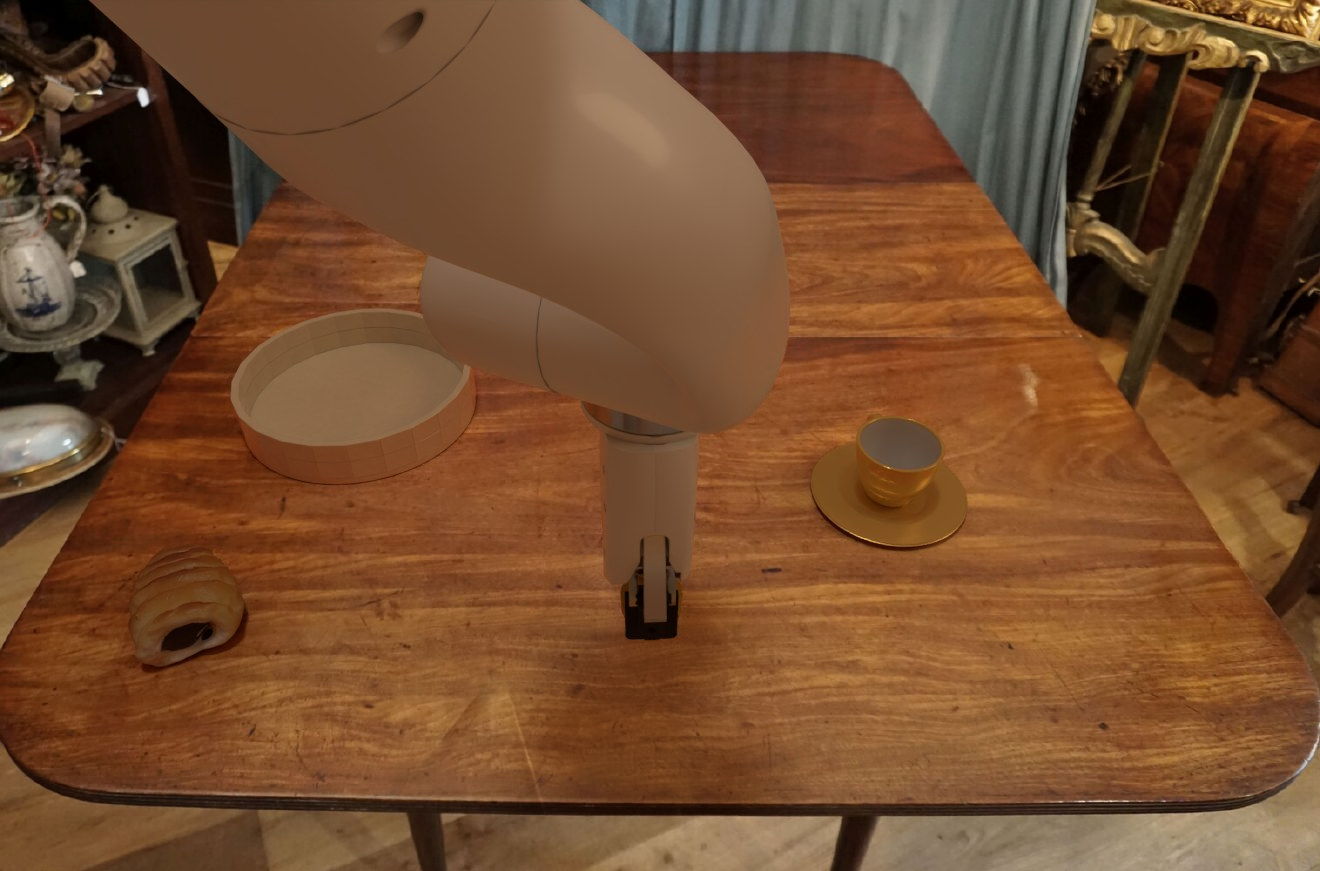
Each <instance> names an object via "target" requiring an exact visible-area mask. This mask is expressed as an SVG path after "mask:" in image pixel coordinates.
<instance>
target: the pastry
mask: <svg viewBox="0 0 1320 871" xmlns="http://www.w3.org/2000/svg"><path fill="white" fill-rule="evenodd" d="M238 585H239V584H238V581H237V577H236V575H235V574H233V573H232V572H231V570H230V568H229V567H228V566H227V565H226V564H225V563H224V562H223V561H222V559H221V558H219V557H217V556H216V555H215V554H214V553H213V550H212V549H210V548H208V547H207V546H205V545H203V544H201V543H195V542H192V543H186V544H181V545H177V546H165V547H162V548H161V549H160V550H159V551H158V552H157V553H155V554H154V555H153V556H152V557H151V558H150V560H149V561H148V563H147V564H146V565H145V567H144V568H142V569H141V570H140V571H139V572H138V576H137V581H136V582H135V583H134V585H133V589H132V593H133V595H132V597H131V598H130V600H129V604H128V612H129V613H128V614H129V617H130V618H129V619H128V623H127V626H128V627H127V628H128V631H129V632H128V633H129V634H130V637H131V639H132V640H133V643H134V647H135V654H134V657H135V658H136V660H138V662H139V663H141V664H145V665H152V666H153V667H156V668H160V667H167V666H170V665H172V664H175V663H178V662H182V661H183V660H186V658H189V657H192V656H194V655H195V654H197V653H199V652H201V651H203V650H207V649H212V648H215V647H218V646H221V645H224V644H225V643H228V641H229V640H230V639H231V638H233V636H235V634H236V632H237V630H238V629H239V627H240V625H241V621H242V619H243V616H244V610H245V605H246V604H245V599H244V598H243V596H242V593H241V591H240V588H239V586H238Z"/></svg>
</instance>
